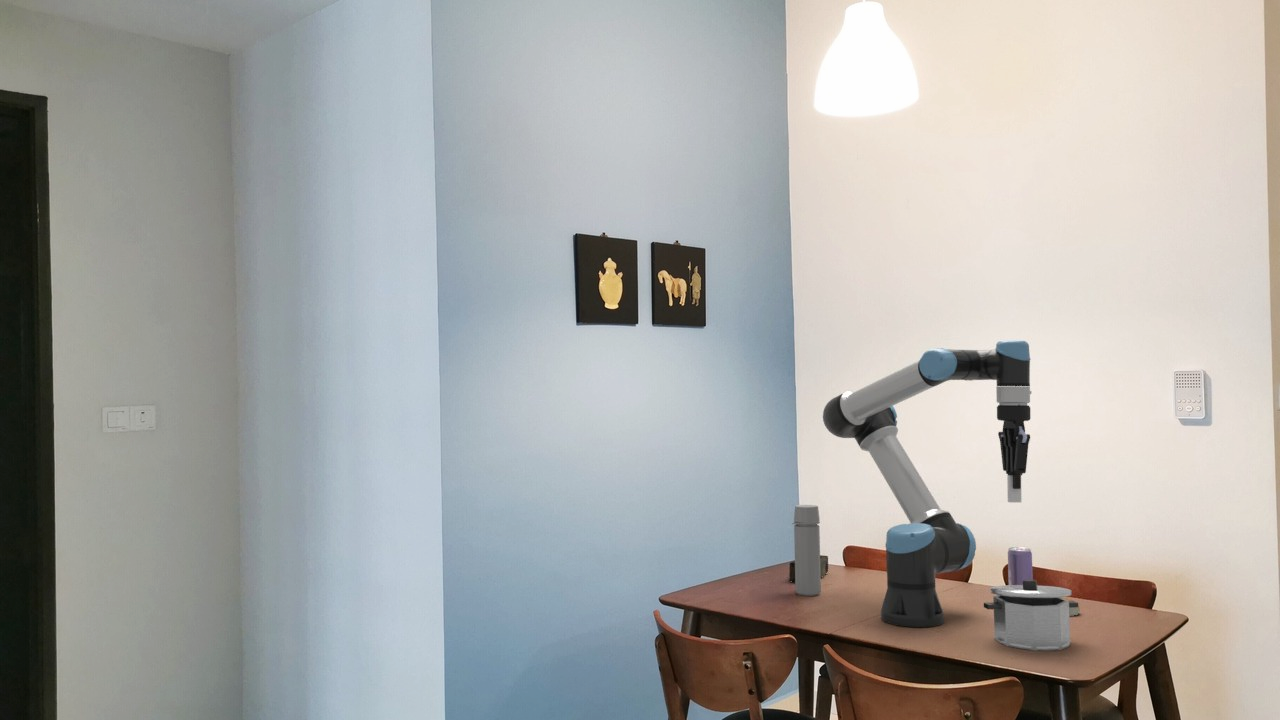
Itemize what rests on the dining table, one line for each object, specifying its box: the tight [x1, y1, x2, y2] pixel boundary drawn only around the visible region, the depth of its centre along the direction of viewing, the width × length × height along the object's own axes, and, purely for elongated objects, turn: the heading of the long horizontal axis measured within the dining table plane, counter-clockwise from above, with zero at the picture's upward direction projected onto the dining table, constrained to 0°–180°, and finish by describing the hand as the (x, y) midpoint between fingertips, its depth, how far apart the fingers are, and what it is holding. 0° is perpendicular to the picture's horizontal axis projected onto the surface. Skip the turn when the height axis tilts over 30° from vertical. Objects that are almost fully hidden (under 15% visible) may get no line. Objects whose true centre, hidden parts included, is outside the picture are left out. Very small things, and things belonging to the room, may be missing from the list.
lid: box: [989, 579, 1072, 598], centre depth 207 cm, size 17×17×3 cm
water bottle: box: [791, 504, 822, 597], centre depth 261 cm, size 9×8×25 cm
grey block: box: [1064, 598, 1081, 617], centre depth 233 cm, size 8×9×4 cm
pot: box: [983, 594, 1079, 652], centre depth 207 cm, size 21×16×10 cm
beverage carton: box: [788, 554, 829, 583], centre depth 283 cm, size 8×19×7 cm, turn 155°
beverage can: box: [1007, 546, 1034, 585], centre depth 242 cm, size 6×6×15 cm
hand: (1014, 501), depth 219 cm, fingers closed
